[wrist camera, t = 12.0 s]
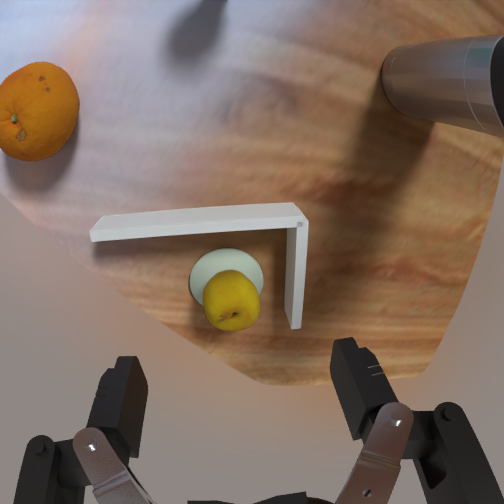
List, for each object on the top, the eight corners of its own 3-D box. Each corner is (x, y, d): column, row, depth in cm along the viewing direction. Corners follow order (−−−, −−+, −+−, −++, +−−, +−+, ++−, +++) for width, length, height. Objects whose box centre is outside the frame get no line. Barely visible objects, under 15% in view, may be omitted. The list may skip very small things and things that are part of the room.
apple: (193, 270, 38) (190, 311, 31) (243, 250, 37) (251, 288, 30) (215, 310, 41) (217, 353, 34) (262, 292, 40) (272, 334, 33)
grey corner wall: (297, 202, 36) (308, 215, 32) (292, 307, 43) (300, 328, 39) (102, 216, 34) (89, 231, 30) (126, 318, 40) (119, 340, 36)
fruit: (27, 167, 30) (-10, 185, 23) (8, 88, 25) (-32, 91, 18) (99, 136, 30) (70, 147, 23) (80, 50, 25) (47, 40, 18)
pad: (262, 245, 38) (263, 247, 37) (262, 307, 42) (263, 309, 41) (185, 250, 37) (185, 252, 37) (194, 312, 41) (194, 314, 41)
